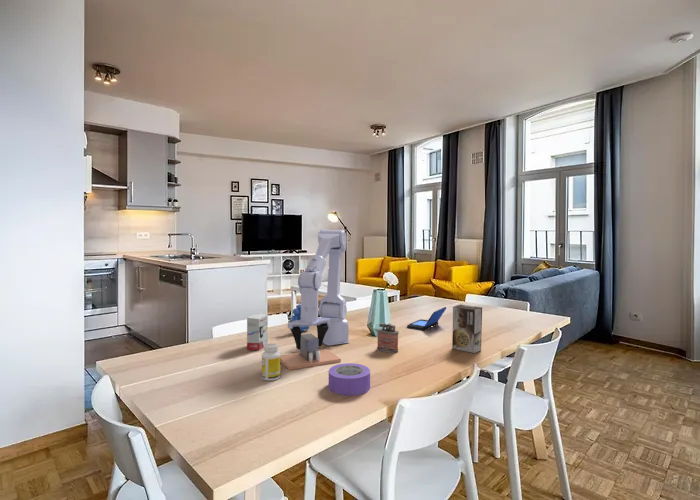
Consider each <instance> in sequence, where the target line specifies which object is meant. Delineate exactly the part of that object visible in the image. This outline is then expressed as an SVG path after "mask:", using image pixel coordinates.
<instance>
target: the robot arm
mask: <svg viewBox="0 0 700 500" xmlns="http://www.w3.org/2000/svg"><path fill="white" fill-rule="evenodd" d="M317 242H318V246H317V249H316V252H315V254H314V255H312V256H311V257H310V259H309V261H308V263H307V265H306V267H305V270H304V271H302V272H301V273H300V274H299V275H298V280H297V284H298V285H297V286H298V287H299V290H298V292H299V294H300V305H301V320H296V321H292V320H291V321H287V328H288V329H289V330H290V332H291V333H292V336H293V339H294V343H295V345H296V349H297V350H298V351H299V350H300V349H301V335H302V333H303V332H302V331H301V330H300V328H299V327H306V326H310V327H315V326H316V331H317V338H318V339H319V348H321V347H323V344H324V345H325V346H327V347H328V346H335V345H342V344H349V343H350V341H349V323H348V320H347V319H346V317H347V310H348V308H347V300H346V298H344V297H343V296H342V295H341V294H340V290H341V287H340V286H341V270H342V256H343V253H345V252H346V250H347V249H346V248H347V233H346V231H345V230H344V229H320V230H319V232H318V234H317ZM327 256H328V268H327V269H328V271H327V272H328V273H327V286H326V287H327V289H326V295H325V296H323V297H321V298H320V304H319V289H320V287H321V285H322V279H323V273H324V270H325V268H326V265H327V262H326V258H327Z"/></svg>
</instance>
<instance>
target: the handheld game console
mask: <svg viewBox="0 0 700 500" xmlns="http://www.w3.org/2000/svg"><path fill="white" fill-rule="evenodd" d="M446 309H447V307H446V306H445V307H442V308H439V309H437V310H436V311H434V312H433V313H432V314H431V315H430V317H429V318H428V319H418V320H416V321H414V322H413V321H412V322H411V323H409V324H407V325H406V328H408V329H412V330H418V331H423V330H426V331H427V330H429V329H431V328H432V327H431V326H433V327H435V326H437V325H439V320H440V319H441V317H442V316H443V314H444V313H445V311H446ZM436 324H437V325H436ZM434 325H435V326H434Z"/></svg>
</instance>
